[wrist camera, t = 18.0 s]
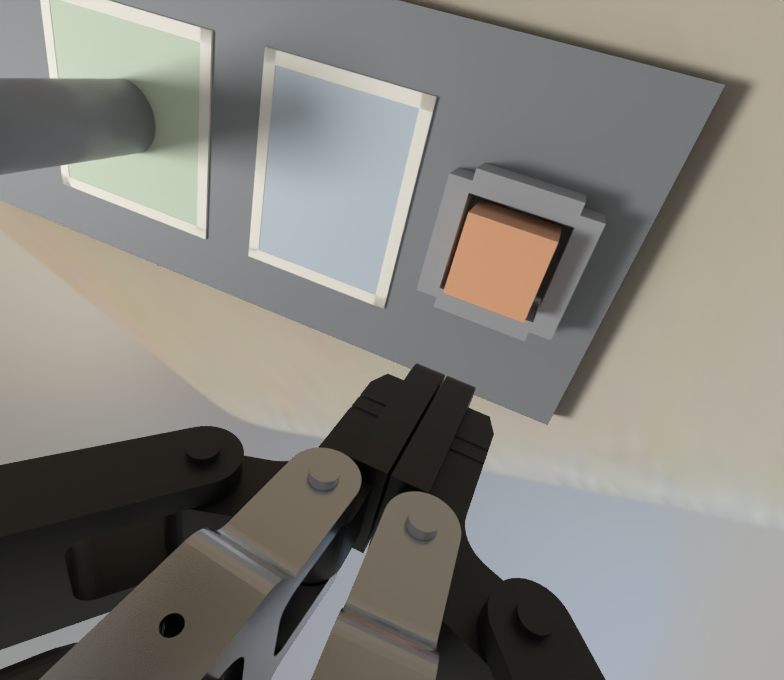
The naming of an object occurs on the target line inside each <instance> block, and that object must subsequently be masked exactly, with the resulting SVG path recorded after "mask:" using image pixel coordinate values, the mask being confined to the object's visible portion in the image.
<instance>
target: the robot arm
mask: <svg viewBox="0 0 784 680" xmlns="http://www.w3.org/2000/svg"><path fill="white" fill-rule="evenodd" d="M444 378H445V375H444V374H442V373H440V372H437V371H435V370H432V369H430V368H428V367H425V366H423V365H420V364H418V363H416V364H415V365H414V367H413V368H412V369H411V371H410V372H409V374H408V375H407V377H406V378H405V379H404V380H401V379H399V378H397V377H394V376H392V375H390V374H386V375H384V376H382V377H380V378H378V379H375V380H373V381H371V382H370V383H369V385H368V386H367V387H366V388H365V390H364V391H363V392H362V394H361V395H360V397H358V399H357V400H356V401H355V402H354V404H353V405H352V407H350V409H349V410H348V411H347V412H346V414H345V415H344V416H343V417H342V419H341V420H340V421H339V422H338V424H337V425H336V426H335V427H334V429H333V430H332V431H331V432H330V434H329V435H328V436H327V437H326V439H325V440H324V441H323V442H322V444H321V445H320V446H319V447H318V448H312V449H307V450H305V451H302V452H300V453H298V454H297V455H295V456H294V457H293V458H292V459H291V460H290V461H271V460H266V459H260V458H254V457H249V456H244V450H243V446H242V444H241V442H240V440H239V439H238V438H237V437H236V436H235V435H234V434H232V433H231V432H229V431H227V430H225V429H222V428H218V427H212V426H200V427H194V428H188V429H183V430H178V431H173V432H168V433H162V434H157V435H152V436H147V437H142V438H137V439H132V440H127V441H121V442H116V443H111V444H106V445H101V446H96V447H91V448H86V449H80V450H76V451H71V452H65V453H60V454H55V455H50V456H45V457H39V458H35V459H29V460H24V461H19V462H14V463H9V464H4V465H0V650H1V649H4V648H7V647H10V646H13V645H16V644H19V643H21V642H24V641H27V640H30V639H33V638H36V637H39V636H42V635H45V634H47V633H50V632H53V631H56V630H59V629H61V628H64V627H67V626H70V625H73V624H76V623H79V622H82V621H85V620H88V619H90V618H93V617H96V616H99V615H102V614H104V613H107V612H110V613H109V614H108V615H106V616H105V617H104V619H102V620H101V621H100V622H99V623H98V624H97V625H96V626H95V627H94V628H93V629H92V630H91V631H90V632H89V633H87V634H86V635H85V637H83V638H82V639H81V640H80V641H79V642H78V643H73V644H69V645H66V646H62V647H59V648H54V649H52V650H49V651H46V652H44V653H41V654H38V655H36V656H33V657H31V658H28V659H26V660H23V661H21V662H18V663H16V664H13V665H11V666H8V667H5V668H3V669H0V680H271V678H272V676H273V674H274V672H275V670H276V669H277V667H278V665H279V664H280V662H281V660H282V659H283V657H284V656H285V654H286V653H287V651H288V650H289V648H290V647H291V645H292V644H293V642H294V641H295V639H296V638H297V636H298V635H299V633H300V632H301V630H302V629H303V627H304V626H305V624H306V623H307V621H308V620H309V618H310V617H311V615H312V614H313V612H314V611H315V609H316V607H317V606H318V604H319V603H320V602H321V600H322V599H323V597H324V596H325V594H326V592H327V591H328V590H329V588H330V586H331V585H332V583H333V582H334V580H335V578H336V575H337V572H338V570H339V569H340V568H341V566H342V564H343V563H344V561H345V559H346V557H347V555H348V554H349V552H350V550H351V548H354V549H356V550H358V551H360V552H362V553H364V551H365V549H366V547H367V545H368V543H369V541H370V539H371V541H370V544H369V548H368V551H367V553H366V556H365V558H364V561H363V563H362V566H361V568H360V570H359V573H358V575H357V578H356V580H355V582H354V585H353V587H352V589H351V592H350V594H349V597H348V599H347V601H346V604H345V606H344V608H342V609H341V611H340V613H339V615H338V617H337V619H336V622H335V624H334V626H333V628H332V631H331V633H330V636H329V638H328V640H327V643H326V645H325V647H324V650H323V652H322V654H321V657H320V659H319V662H318V664H317V666H316V669H315V671H314V673H313V676H312V678H311V680H605V678H604V676H603V674H602V673H601V671H600V669H599V667H598V665H597V663H596V662H595V660H594V658H593V656H592V654H591V653H590V651H589V649H588V647H587V645H586V643H585V641H584V640H583V638H582V636H581V634H580V632H579V631H578V629H577V627H576V625H575V623H574V621H573V620H572V618H571V616H570V614H569V613H568V611H567V609H566V608H565V606H564V605H563V604H562V602H561V601H560V600H559V599H558V598H557V597H556V596H555V595H554V594H553V593H552V592H551V591H549V590H548V589H547V588H545V587H543V586H542V585H540V584H538V583H536V582H533V581H531V580H527V579H522V578H511V579H507V580H504V581H503V580H502V579H501V578H499V577H498V576H497V575H496V574H495V573H494V572H493V571H492V570H490V569H489V568H488V567H487V566H486V565H485V564H484V563H483V562H482V561H481V560H480V559H479V558H478V557H477V556H476V554H475V553H474V551H473V550H472V548H471V546H470V544H469V542H468V539H467V536H466V532H465V519H466V515H467V512H468V509H469V506H470V503H471V500H472V497H473V494H474V491H475V488H476V485H477V482H478V479H479V476H480V474H481V471H482V468H483V464H484V462H485V459H486V456H487V452H488V450H489V447H490V444H491V441H492V438H493V435H494V433H493V429H492V425H491V421H490V417H489V416H487V415H484V414H482V413H480V412H477V411H475V410H473V409H470V408H469V405H470V403H471V400H472V398H473V395H474V392H475V390H476V387H474V386H471V385H469V384H467V383H464V382H462V381H459V380H457V379H454V378H452V377H450V376H447V377H446V378H445V380H444ZM371 537H372V538H371Z"/></svg>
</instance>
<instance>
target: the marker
mask: <svg viewBox="0 0 784 680" xmlns="http://www.w3.org/2000/svg"><path fill="white" fill-rule="evenodd" d="M154 137H155V118H154V114H153V111H152V108H151V106H150V103H149V101H148V100H147V98H146V96H145V95H144V94H143V92H142V91H141V90H140V89H139V88H138V87H137V86H136V85H134V84H133V83H131V82H130V81H127V80H125V79H94V78H0V175H4V174H10V173H17V172H23V171H29V170H36V169H42V168H48V167H55V166H61V165H67V164H74V163H80V162H87V161H93V160H99V159H106V158H112V157H118V156H125V155H131V154H137V153H142V152H144V151H146V150H147V149H148V148H149V147H150V146H151V144H152V143H153V140H154Z"/></svg>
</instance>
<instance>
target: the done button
mask: <svg viewBox="0 0 784 680" xmlns="http://www.w3.org/2000/svg"><path fill="white" fill-rule="evenodd" d="M561 231H562V226H559V225H555V224H552V223H549V222H546V221H543V220H540V219H537V218H534V217H531V216H528V215H525V214H522V213H519V212H516V211H513V210H510V209H507V208H504V207H501V206H498V205H495V204H492V203H489V202H486V201H483V200H480V201H479V202H478V203H477V204H476V205H475V206H474V207H473V208H472V209H471V210H470V211H469V212H468V215H467V218H466V221H465V224H464V227H463V231H462V234H461V237H460V240H459V243H458V246H457V250H456V253H455V256H454V259H453V262H452V266H451V269H450V272H449V275H448V278H447V281H446V285H445V288H444V291H443V293H445V294H448V295H450V296H453V297H456V298H458V299H461V300H464V301H466V302H469V303H472V304H474V305H477V306H480V307H482V308H485V309H488V310H490V311H493V312H496V313H498V314H501V315H504V316H506V317H509V318H512V319H514V320H517V321H520V322H522V323H524V322H525V319H526V317H527V315H528V312H529V310H530V308H531V305H532V303H533V301H534V298H535V296H536V294H537V291H538V289H539V287H540V284H541V282H542V280H543V277H544V275H545V273H546V270H547V268H548V266H549V263H550V261H551V259H552V256H553V254H554V252H555V249H556V247H557V245H558V242H559V238H560V235H561Z"/></svg>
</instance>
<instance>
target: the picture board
mask: <svg viewBox="0 0 784 680" xmlns="http://www.w3.org/2000/svg"><path fill="white" fill-rule="evenodd" d="M0 78H94V79H125V80H127V81H130V82H131V83H133V84H134V85H136V86H137V87H138V88H139V89H140V90H141V91H142V92H143V94H144V95H145V96H146V98H147V100H148V101H149V103H150V106H151V108H152V111H153V114H154V118H155V137H154V140H153V143H152V144H151V146H150V147H149V148H148V149H147V150H146V151H144V152H142V153H137V154H131V155H125V156H118V157H112V158H106V159H99V160H93V161H87V162H80V163H74V164H67V165H61V166H55V167H48V168H42V169H36V170H29V171H23V172H17V173H10V174H4V175H0V200H2V201H4V202H6V203H9V204H11V205H14V206H16V207H19V208H21V209H23V210H26V211H28V212H31V213H33V214H36V215H38V216H40V217H43V218H45V219H48V220H50V221H53V222H55V223H58V224H60V225H62V226H65V227H67V228H70V229H72V230H75V231H77V232H79V233H82V234H84V235H87V236H89V237H92V238H94V239H96V240H99V241H101V242H104V243H106V244H109V245H111V246H113V247H116V248H118V249H121V250H123V251H126V252H128V253H130V254H133V255H135V256H138V257H140V258H143V259H145V260H148V261H150V262H152V263H155V264H157V265H160V266H162V267H165V268H167V269H169V270H172V271H174V272H177V273H179V274H182V275H184V276H186V277H189V278H191V279H194V280H196V281H199V282H201V283H203V284H206V285H208V286H211V287H213V288H216V289H218V290H221V291H223V292H225V293H228V294H230V295H233V296H235V297H238V298H240V299H242V300H245V301H247V302H250V303H252V304H255V305H257V306H259V307H262V308H264V309H267V310H269V311H272V312H274V313H276V314H279V315H281V316H284V317H286V318H289V319H291V320H293V321H296V322H298V323H301V324H303V325H306V326H308V327H311V328H313V329H315V330H318V331H320V332H323V333H325V334H328V335H330V336H332V337H335V338H337V339H340V340H342V341H345V342H347V343H349V344H352V345H354V346H357V347H359V348H362V349H364V350H366V351H369V352H371V353H374V354H376V355H379V356H381V357H383V358H386V359H388V360H391V361H393V362H396V363H398V364H401V365H403V366H405V367H408V368H410V369H412V368H413V367H414V365H415V364H416V363H418V364H420V365H423V366H425V367H428V368H430V369H432V370H435V371H437V372H440V373H442V374H444V375H445V378H446V377H447V376H450V377H452V378H454V379H457V380H459V381H462V382H464V383H467V384H469V385H471V386H474V387H476V390H475V392H474V395H476V396H478V397H481V398H483V399H486V400H488V401H491V402H493V403H495V404H498V405H500V406H503V407H505V408H508V409H510V410H512V411H515V412H517V413H520V414H522V415H525V416H527V417H529V418H532V419H534V420H537V421H539V422H542V423H544V424H546V425H548V423H549V421H550V419H551V417H552V415H553V413H554V412H555V410H556V408H557V406H558V404H559V402H560V400H561V398H562V396H563V394H564V392H565V391H566V389H567V387H568V385H569V383H570V381H571V379H572V377H573V375H574V373H575V371H576V369H577V368H578V366H579V364H580V362H581V360H582V358H583V356H584V354H585V352H586V350H587V348H588V347H589V345H590V343H591V341H592V339H593V337H594V335H595V333H596V331H597V329H598V327H599V325H600V324H601V322H602V320H603V318H604V316H605V314H606V312H607V310H608V308H609V306H610V304H611V303H612V301H613V299H614V297H615V295H616V293H617V291H618V289H619V287H620V285H621V283H622V281H623V280H624V278H625V276H626V274H627V272H628V270H629V268H630V266H631V264H632V262H633V260H634V259H635V257H636V255H637V253H638V251H639V249H640V247H641V245H642V243H643V241H644V239H645V238H646V236H647V234H648V232H649V230H650V228H651V226H652V224H653V222H654V220H655V218H656V216H657V215H658V213H659V211H660V209H661V207H662V205H663V203H664V201H665V199H666V197H667V195H668V194H669V192H670V190H671V188H672V186H673V184H674V182H675V180H676V178H677V176H678V174H679V172H680V171H681V169H682V167H683V165H684V163H685V161H686V159H687V157H688V155H689V153H690V151H691V150H692V148H693V146H694V144H695V142H696V140H697V138H698V136H699V134H700V132H701V130H702V128H703V127H704V125H705V123H706V121H707V119H708V117H709V115H710V113H711V111H712V109H713V107H714V106H715V104H716V102H717V100H718V98H719V96H720V94H721V92H722V90H723V88H724V86H725V85H724V84H720V83H716V82H712V81H709V80H705V79H701V78H697V77H693V76H689V75H685V74H682V73H678V72H674V71H670V70H666V69H662V68H658V67H655V66H651V65H647V64H643V63H639V62H635V61H631V60H628V59H624V58H620V57H616V56H612V55H608V54H604V53H600V52H597V51H593V50H589V49H585V48H581V47H577V46H573V45H570V44H566V43H562V42H558V41H554V40H550V39H546V38H543V37H539V36H535V35H531V34H527V33H523V32H519V31H515V30H512V29H508V28H504V27H500V26H496V25H492V24H488V23H485V22H481V21H477V20H473V19H469V18H465V17H461V16H458V15H454V14H450V13H446V12H442V11H438V10H434V9H431V8H427V7H423V6H419V5H415V4H411V3H407V2H403V1H400V0H0ZM480 200H483V201H486V202H489V203H492V204H495V205H498V206H501V207H504V208H507V209H510V210H513V211H516V212H519V213H522V214H525V215H528V216H531V217H534V218H537V219H540V220H543V221H546V222H549V223H552V224H555V225H559V226H562V231H561V235H560V238H559V242H558V245H557V247H556V249H555V252H554V254H553V256H552V259H551V261H550V263H549V266H548V268H547V270H546V273H545V275H544V277H543V280H542V282H541V284H540V287H539V289H538V291H537V294H536V296H535V298H534V301H533V303H532V305H531V308H530V310H529V312H528V315H527V317H526V319H525V322H524V323H522V322H520V321H517V320H514V319H512V318H509V317H506V316H504V315H501V314H498V313H496V312H493V311H490V310H488V309H485V308H482V307H480V306H477V305H474V304H472V303H469V302H466V301H464V300H461V299H458V298H456V297H453V296H450V295H448V294H445V293H443V291H444V288H445V285H446V281H447V278H448V275H449V272H450V269H451V266H452V262H453V259H454V256H455V253H456V250H457V246H458V243H459V240H460V237H461V234H462V231H463V227H464V224H465V221H466V218H467V215H468V212H469V211H470V210H471V209H472V208H473V207H474V206H475V205H476V204H477V203H478V202H479V201H480ZM445 378H444V380H445Z"/></svg>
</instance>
